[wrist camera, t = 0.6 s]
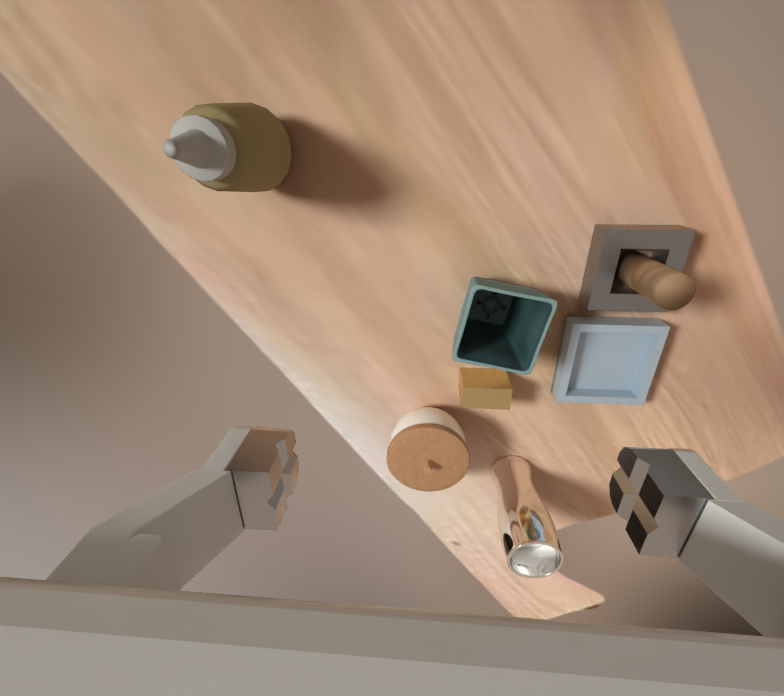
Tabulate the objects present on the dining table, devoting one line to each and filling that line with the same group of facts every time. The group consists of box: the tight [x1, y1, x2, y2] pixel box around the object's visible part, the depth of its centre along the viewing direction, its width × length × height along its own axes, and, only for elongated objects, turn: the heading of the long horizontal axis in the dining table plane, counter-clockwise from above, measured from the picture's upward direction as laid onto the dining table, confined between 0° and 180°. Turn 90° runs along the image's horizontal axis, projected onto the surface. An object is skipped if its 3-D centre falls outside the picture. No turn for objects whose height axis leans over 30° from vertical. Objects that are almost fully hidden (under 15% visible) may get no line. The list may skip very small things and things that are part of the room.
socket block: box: [578, 224, 696, 312], centre depth 45 cm, size 9×9×3 cm
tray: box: [551, 316, 670, 405], centre depth 50 cm, size 11×11×2 cm
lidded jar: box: [387, 407, 470, 491], centre depth 54 cm, size 11×11×9 cm
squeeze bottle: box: [163, 103, 292, 192], centre depth 35 cm, size 8×8×18 cm
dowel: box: [614, 250, 696, 310], centre depth 41 cm, size 4×4×10 cm
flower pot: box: [452, 277, 558, 375], centre depth 45 cm, size 9×9×9 cm
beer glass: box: [491, 456, 564, 578], centre depth 54 cm, size 7×7×15 cm
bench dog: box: [458, 368, 513, 410], centre depth 52 cm, size 3×6×5 cm, turn 90°
